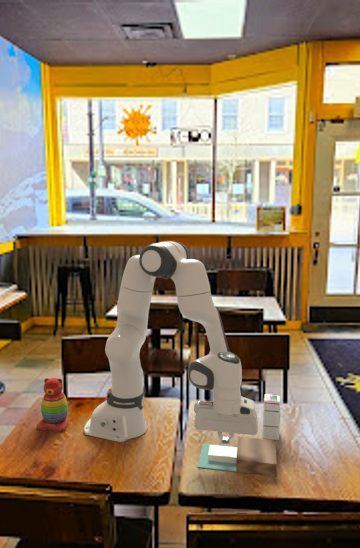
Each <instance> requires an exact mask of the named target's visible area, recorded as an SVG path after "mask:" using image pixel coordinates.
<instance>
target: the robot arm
mask: <svg viewBox="0 0 360 548" xmlns="http://www.w3.org/2000/svg"><path fill="white" fill-rule="evenodd" d="M156 278H161V279H164V280H169V279H171V280H172V281H173V283H174V285H175V293H176V300H177V306H178V309H179V312H180V314H181V315H182V316H183V317H184V318H186V319H187V320H189V321H192V322H197V323H199V324H201V325H202V326H203V328H204V329H205V332H206V337H207V341H208V343H209V348H210V350H209V353H208V354H207V355H204V356H201V357H199V358H197V359H195V360H193V361H191V362H190V363H189V365H188V368H187V377H188V380H189V382H190V384H191V385H192V386H193V387H195V388H196V389H200V390H205V391H210V390H211V391H212V401H203V400H199V401H196V402H195V403H194V405H193V411H194V413H195V417H194V424H193V426H194V428H195V429H196V430H198V431H208V432H209V431H210V432H217V436H218V437H219V439H220V445H227V446H231V445H230V444H231V440H232V438H234V434H239V435H240V434H241V435H248V436H249V435H250V436H251V435H252V436H256V435H257V434H258V429H259V427H258V425H259V423H258V422H259V421H258V414H257V411H256V410H255V407H256V406H255V405H256V404H255V401H254V400H253V399H251V398H247V397H244V396H242V393H241V386H242V382H243V381H242V379H243V374H242V373H243V370H242V362H241V359H240V357H239V356H238V355H237V354H235V353H233V352H231V350H230V347H229V344H228V341H227V337H226V333H225V332H226V331H225V329H224V324H223V321H222V318H221V315H220V312H219V310H218V308H217V307H216V306H215V303H214V301H213V297H212V293H211V292H212V291H211V286H210V281H209V277H208V273H207V269H206V267H205V265H204V263H203V262H202V261H201V260H198V259H194V258H190V252H189V249H188V248H187V246H186V245H185V244H183V243H182V242H179V241H177V240H164V241H160V242H156V243H151V244H148V245H147V246H145V247H144V248H143V249H142V251H140V254H136V255H133V256H131V257H129V259H128V260H127V263H126V264H125V268H124V270H123V275H122V277H121V283H120V287H119V292H118V299H117V304H116V308H117V322H116V326H115V327H114V330H113V331H112V332H111V334H110V335H109V336H108V338H107V340H106V344H105V348H104V351H105V355H106V358H107V359H108V362H109V368H110V374H111V375H110V378H111V386H110V387H109V388H108V390H107V392H106V395H105V397H104V398H105V399H104V401H103V402H102V403H100V404H99V405H98V406H97V407H95V409H94V410H93V411H92V414H91V416H90V418H89V420H87V421H86V423H85V425H84V428H83V433H84V434H85V435H87V436H91V437H95V438H99V439H100V438H101V439H103V440H109V441H114V442H118V443H123V442H126V441H128V440H131V439H135V438H138V437H140V436H142V435H144V434H145V433H146V432H147V430H148V425H147V422H146V417H145V410H144V407H145V391H144V386H143V385H144V381H143V380H144V379H143V378H144V370H143V368H142V365H141V364H142V363H141V359H140V352H141V348H142V346H143V345H144V343H145V341H146V338H147V331H148V323H149V322H148V321H149V313H150V307H151V306H150V305H151V300H152V296H153V291H154V285H155V282H156ZM223 433H228V436H223Z"/></svg>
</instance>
